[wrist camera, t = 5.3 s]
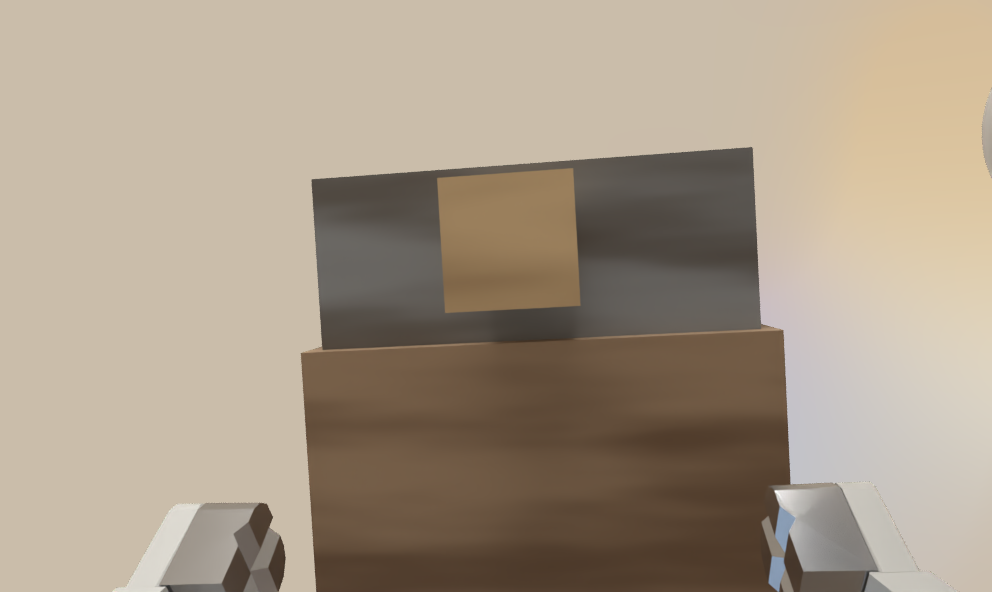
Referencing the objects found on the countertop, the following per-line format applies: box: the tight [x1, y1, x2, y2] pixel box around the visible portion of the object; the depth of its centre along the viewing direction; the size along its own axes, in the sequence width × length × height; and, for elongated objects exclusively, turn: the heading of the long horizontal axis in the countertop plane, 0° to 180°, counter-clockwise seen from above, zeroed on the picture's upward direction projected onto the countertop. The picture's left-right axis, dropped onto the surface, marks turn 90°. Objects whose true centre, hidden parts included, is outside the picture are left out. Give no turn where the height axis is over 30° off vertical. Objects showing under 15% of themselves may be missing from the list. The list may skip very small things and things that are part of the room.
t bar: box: [312, 147, 761, 350], centre depth 22 cm, size 12×15×6 cm
